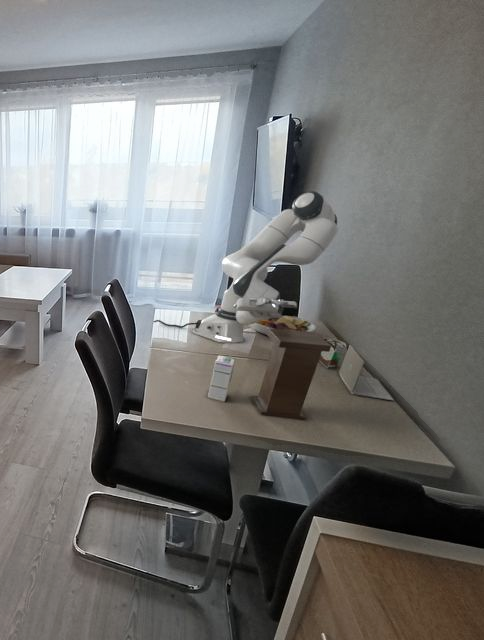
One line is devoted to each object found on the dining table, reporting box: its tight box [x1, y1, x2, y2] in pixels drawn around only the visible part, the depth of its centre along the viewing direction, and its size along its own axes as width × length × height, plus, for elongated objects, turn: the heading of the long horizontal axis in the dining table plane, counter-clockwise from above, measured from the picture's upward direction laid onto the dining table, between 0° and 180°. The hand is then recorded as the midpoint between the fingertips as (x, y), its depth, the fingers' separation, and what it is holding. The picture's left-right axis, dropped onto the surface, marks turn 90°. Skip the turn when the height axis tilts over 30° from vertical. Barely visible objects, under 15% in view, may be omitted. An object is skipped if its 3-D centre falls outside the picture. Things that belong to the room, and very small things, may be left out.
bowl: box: [248, 316, 317, 336], centre depth 209 cm, size 30×30×8 cm
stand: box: [250, 328, 331, 421], centre depth 135 cm, size 12×14×26 cm
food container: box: [318, 336, 348, 370], centre depth 172 cm, size 12×6×10 cm, turn 168°
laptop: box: [338, 344, 394, 401], centre depth 153 cm, size 18×12×13 cm
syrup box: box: [207, 355, 236, 402], centre depth 144 cm, size 6×6×14 cm
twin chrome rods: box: [266, 298, 299, 317], centre depth 146 cm, size 18×4×3 cm, turn 169°
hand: (274, 301), depth 151 cm, fingers closed on twin chrome rods, 3 cm apart
